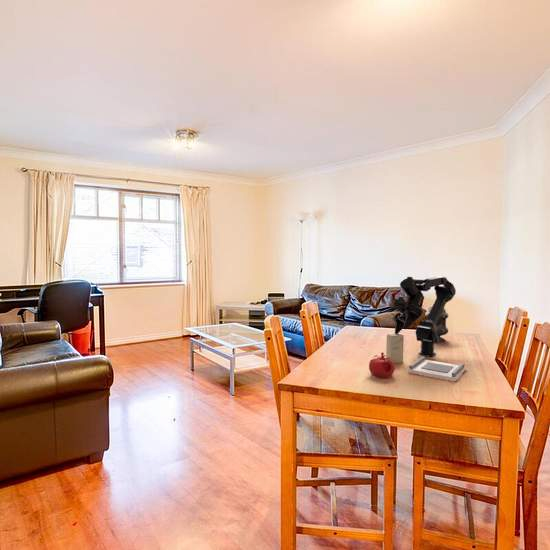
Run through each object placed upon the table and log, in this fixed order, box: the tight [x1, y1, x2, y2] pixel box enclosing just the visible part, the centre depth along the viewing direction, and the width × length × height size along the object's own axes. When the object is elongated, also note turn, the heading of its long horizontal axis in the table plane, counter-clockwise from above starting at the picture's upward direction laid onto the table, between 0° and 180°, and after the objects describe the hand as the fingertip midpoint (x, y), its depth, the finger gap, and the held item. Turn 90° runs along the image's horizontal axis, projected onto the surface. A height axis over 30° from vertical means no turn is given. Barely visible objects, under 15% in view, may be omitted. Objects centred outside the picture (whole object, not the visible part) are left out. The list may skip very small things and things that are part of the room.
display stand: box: [407, 355, 467, 382], centre depth 161 cm, size 18×18×3 cm
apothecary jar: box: [424, 306, 449, 343], centre depth 215 cm, size 12×12×18 cm
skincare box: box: [385, 333, 405, 364], centre depth 174 cm, size 6×4×12 cm
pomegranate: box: [368, 351, 396, 379], centre depth 155 cm, size 10×10×9 cm
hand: (400, 331), depth 170 cm, fingers open, 9 cm apart
